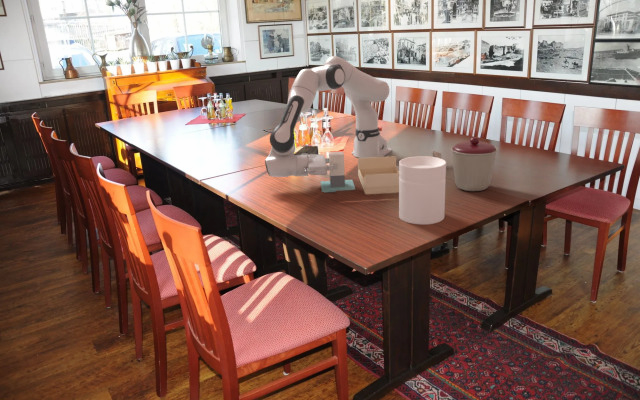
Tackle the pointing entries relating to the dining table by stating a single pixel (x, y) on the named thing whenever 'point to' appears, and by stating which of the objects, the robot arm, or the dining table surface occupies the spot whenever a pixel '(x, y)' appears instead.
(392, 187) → the beige open box
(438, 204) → the canister
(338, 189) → the mat
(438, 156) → the architectural model
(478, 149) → the canister
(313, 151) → the beverage carton
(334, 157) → the box
